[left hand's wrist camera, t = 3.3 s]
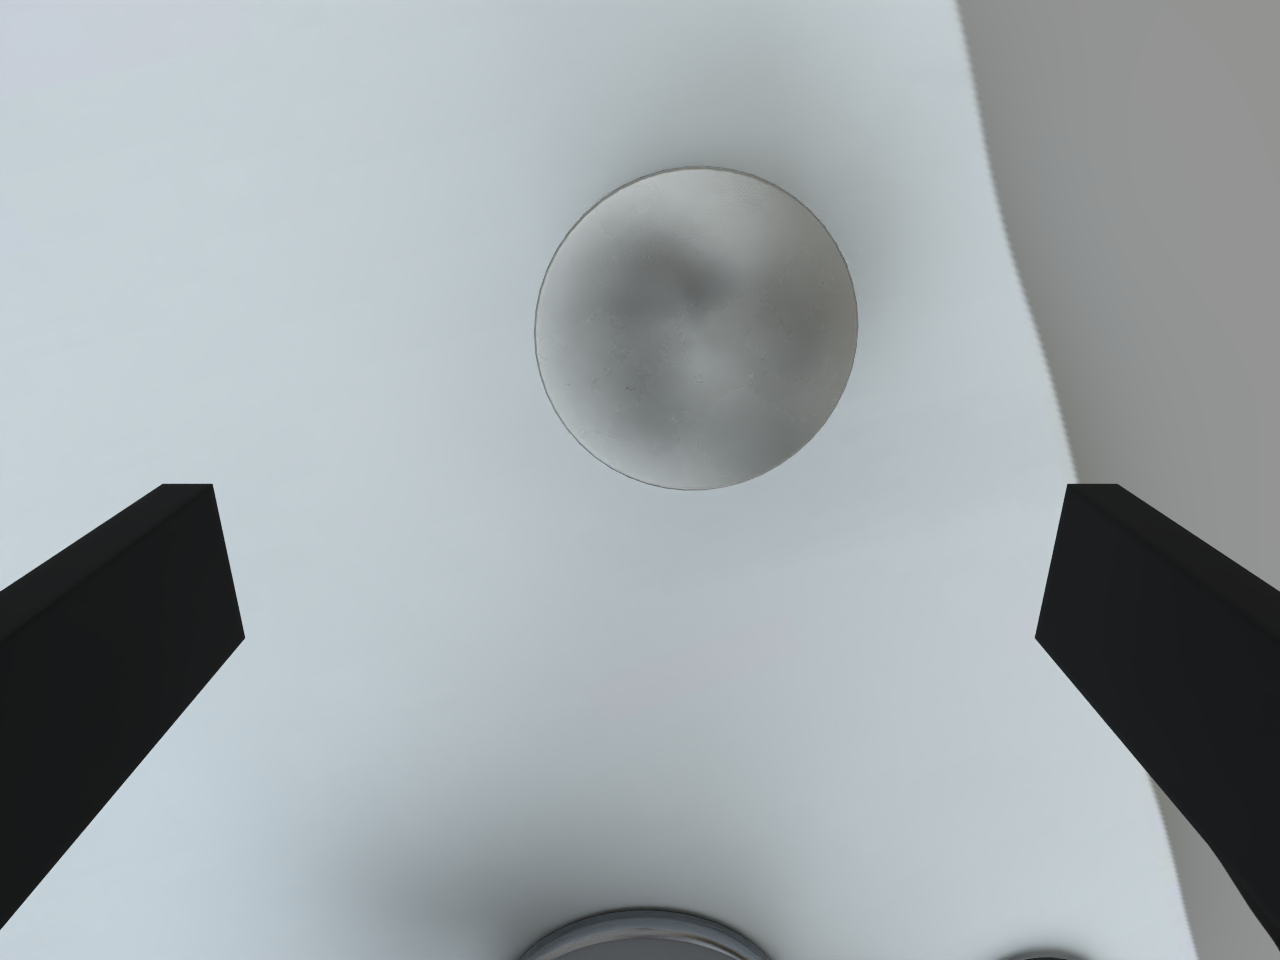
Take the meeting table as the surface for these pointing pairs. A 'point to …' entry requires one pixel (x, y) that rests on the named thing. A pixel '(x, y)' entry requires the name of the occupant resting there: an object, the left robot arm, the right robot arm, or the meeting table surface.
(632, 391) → the can
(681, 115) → the meeting table surface
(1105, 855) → the meeting table surface
